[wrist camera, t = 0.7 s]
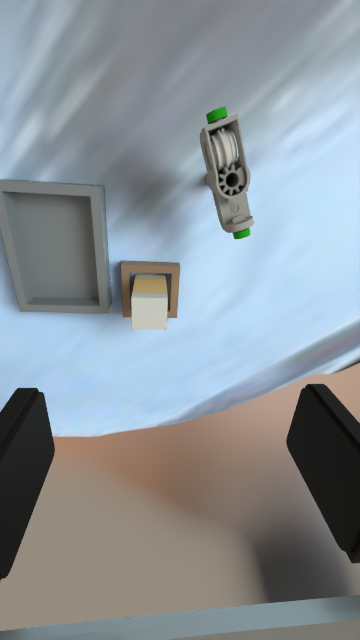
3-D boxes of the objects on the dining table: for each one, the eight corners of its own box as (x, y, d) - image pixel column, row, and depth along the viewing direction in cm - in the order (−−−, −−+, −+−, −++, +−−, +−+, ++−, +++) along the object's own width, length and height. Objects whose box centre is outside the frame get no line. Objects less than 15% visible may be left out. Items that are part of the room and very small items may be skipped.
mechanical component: (210, 225, 34) (230, 243, 26) (186, 133, 30) (199, 115, 21) (233, 217, 34) (260, 232, 25) (212, 122, 29) (237, 100, 21)
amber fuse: (135, 273, 37) (131, 297, 30) (165, 274, 37) (167, 298, 30) (136, 300, 39) (132, 329, 31) (164, 301, 39) (166, 329, 32)
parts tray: (3, 179, 30) (-12, 179, 28) (103, 185, 31) (99, 186, 29) (29, 301, 37) (20, 311, 35) (111, 303, 38) (108, 313, 36)
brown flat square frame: (122, 260, 36) (120, 264, 34) (179, 262, 36) (180, 266, 35) (124, 311, 39) (123, 316, 38) (176, 312, 40) (176, 317, 38)
